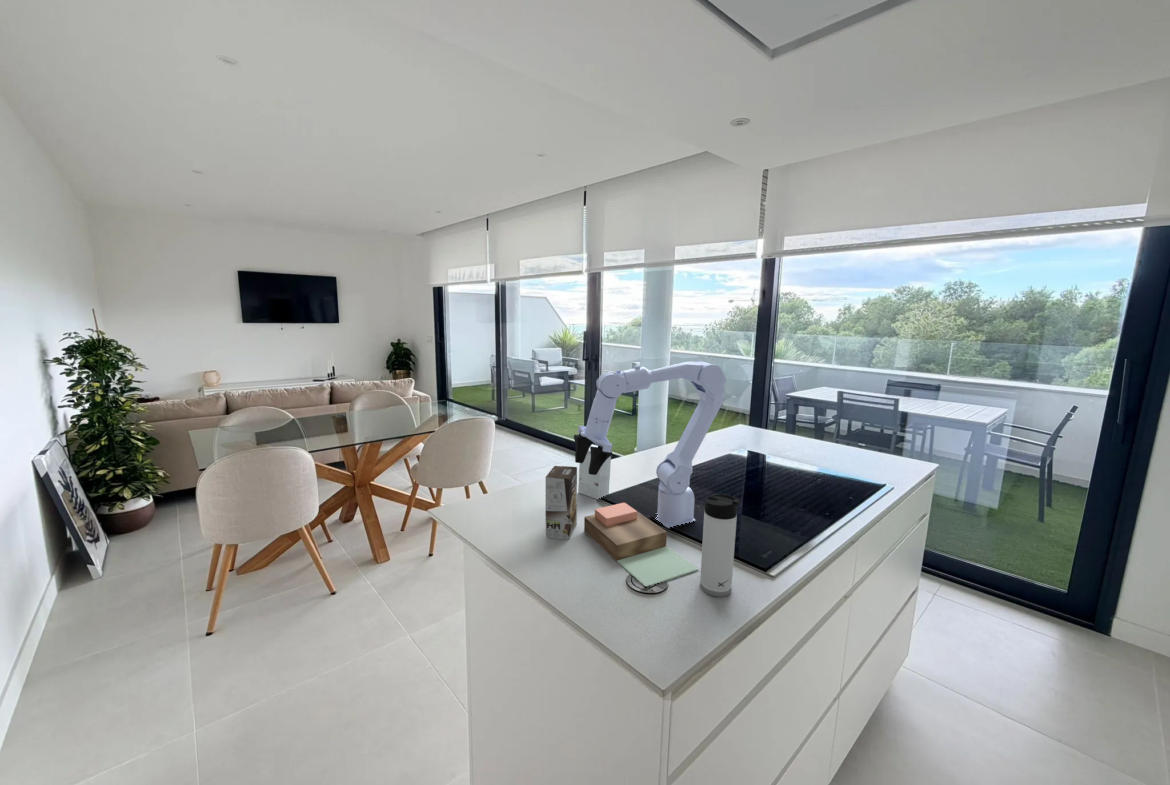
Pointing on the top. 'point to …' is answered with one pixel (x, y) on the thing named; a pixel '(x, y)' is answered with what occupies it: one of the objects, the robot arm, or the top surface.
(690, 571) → the sage mat
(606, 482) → the skincare box
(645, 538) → the block
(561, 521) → the coffee box
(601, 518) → the coral block
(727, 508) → the travel mug
